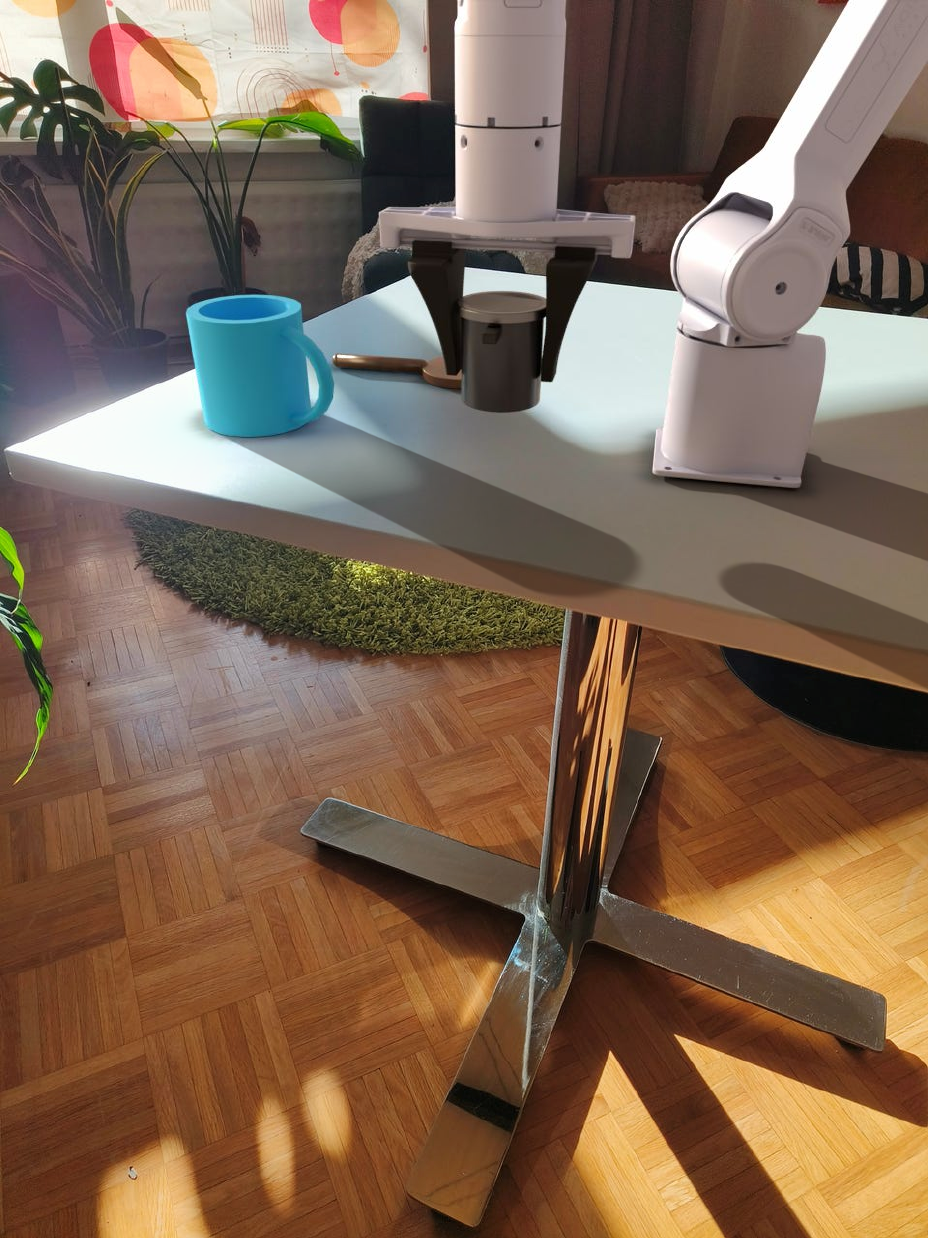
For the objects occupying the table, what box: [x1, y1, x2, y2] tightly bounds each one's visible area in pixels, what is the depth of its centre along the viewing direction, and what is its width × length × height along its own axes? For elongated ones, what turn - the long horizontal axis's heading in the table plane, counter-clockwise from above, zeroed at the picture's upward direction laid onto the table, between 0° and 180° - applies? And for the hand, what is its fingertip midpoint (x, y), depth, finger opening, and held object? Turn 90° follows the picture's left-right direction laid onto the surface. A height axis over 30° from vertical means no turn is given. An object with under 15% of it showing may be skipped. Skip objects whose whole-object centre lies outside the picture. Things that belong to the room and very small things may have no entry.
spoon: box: [332, 352, 462, 390], centre depth 75 cm, size 15×7×1 cm, turn 78°
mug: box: [185, 294, 335, 438], centre depth 63 cm, size 12×8×8 cm
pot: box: [456, 290, 546, 414], centre depth 53 cm, size 6×7×6 cm
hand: (501, 373), depth 54 cm, fingers closed on pot, 5 cm apart
